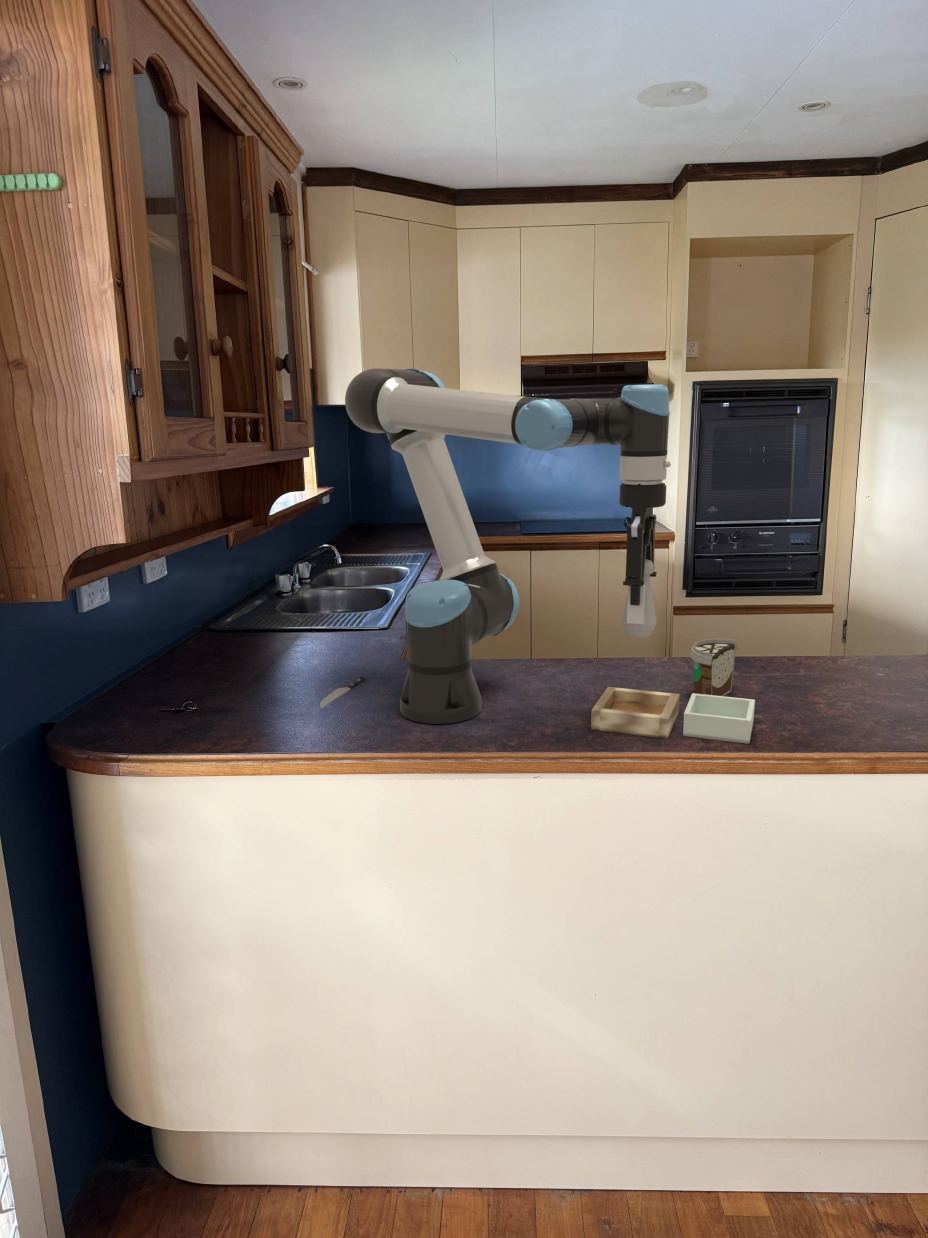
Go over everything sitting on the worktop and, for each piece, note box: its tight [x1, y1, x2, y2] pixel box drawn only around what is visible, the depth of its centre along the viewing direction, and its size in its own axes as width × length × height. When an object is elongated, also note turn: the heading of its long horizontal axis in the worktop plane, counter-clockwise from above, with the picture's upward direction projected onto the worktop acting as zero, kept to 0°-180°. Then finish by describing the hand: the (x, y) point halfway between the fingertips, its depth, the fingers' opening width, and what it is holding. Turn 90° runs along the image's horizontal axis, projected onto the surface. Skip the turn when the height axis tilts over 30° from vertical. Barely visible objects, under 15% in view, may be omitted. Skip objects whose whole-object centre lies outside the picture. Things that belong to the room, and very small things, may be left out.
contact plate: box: [611, 701, 664, 715], centre depth 147 cm, size 9×9×1 cm
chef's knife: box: [319, 676, 367, 708], centre depth 165 cm, size 19×1×3 cm
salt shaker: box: [621, 559, 657, 638], centre depth 142 cm, size 6×6×13 cm
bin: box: [682, 692, 756, 745], centre depth 143 cm, size 11×11×4 cm
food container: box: [689, 638, 738, 697], centre depth 158 cm, size 12×6×10 cm, turn 141°
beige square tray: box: [590, 686, 681, 740], centre depth 147 cm, size 13×13×4 cm
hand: (639, 618), depth 143 cm, fingers closed on salt shaker, 6 cm apart
